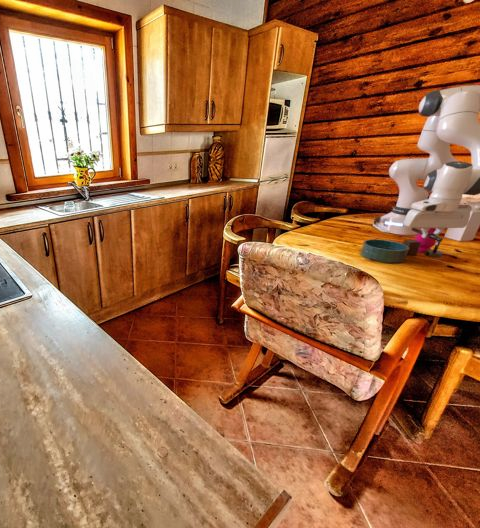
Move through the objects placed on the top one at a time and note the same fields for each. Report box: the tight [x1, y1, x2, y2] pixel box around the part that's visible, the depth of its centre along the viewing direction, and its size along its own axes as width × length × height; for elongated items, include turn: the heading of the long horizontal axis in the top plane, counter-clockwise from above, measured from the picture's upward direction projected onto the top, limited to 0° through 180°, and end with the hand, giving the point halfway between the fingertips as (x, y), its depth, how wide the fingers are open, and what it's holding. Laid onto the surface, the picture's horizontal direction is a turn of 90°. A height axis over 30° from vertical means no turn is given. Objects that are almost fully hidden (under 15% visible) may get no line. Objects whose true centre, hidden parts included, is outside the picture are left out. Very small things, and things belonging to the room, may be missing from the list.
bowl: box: [360, 239, 409, 264], centre depth 124 cm, size 15×15×6 cm
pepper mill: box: [413, 228, 437, 254], centre depth 126 cm, size 7×7×20 cm
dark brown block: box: [402, 238, 421, 257], centre depth 126 cm, size 4×4×6 cm
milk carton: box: [443, 200, 480, 242], centre depth 138 cm, size 7×7×19 cm
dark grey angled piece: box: [411, 228, 444, 259], centre depth 119 cm, size 17×5×8 cm, turn 170°
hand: (429, 237), depth 117 cm, fingers closed on dark grey angled piece
